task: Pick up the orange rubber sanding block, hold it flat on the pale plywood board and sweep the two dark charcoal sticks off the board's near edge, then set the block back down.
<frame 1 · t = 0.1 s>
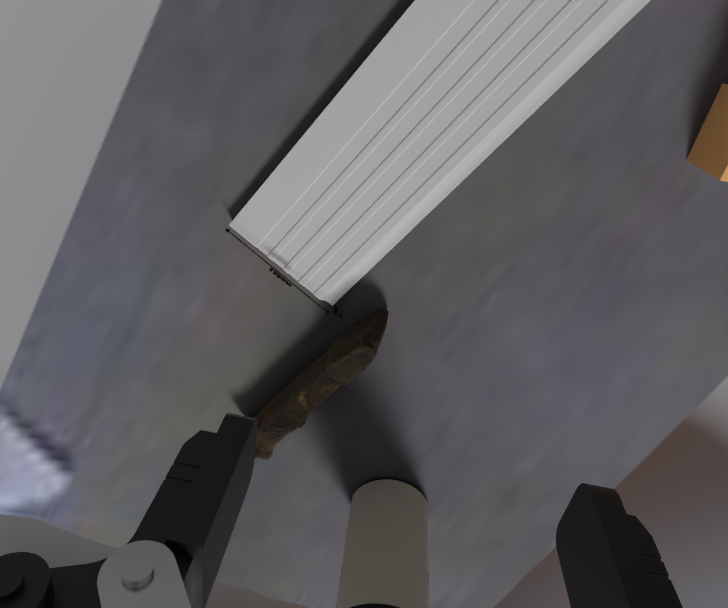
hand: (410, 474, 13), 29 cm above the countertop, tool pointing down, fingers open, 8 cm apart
brown pointed piece: (313, 367, 49), on the countertop
baseboard: (426, 125, 38), on the countertop
travel mug: (389, 502, 56), on the countertop
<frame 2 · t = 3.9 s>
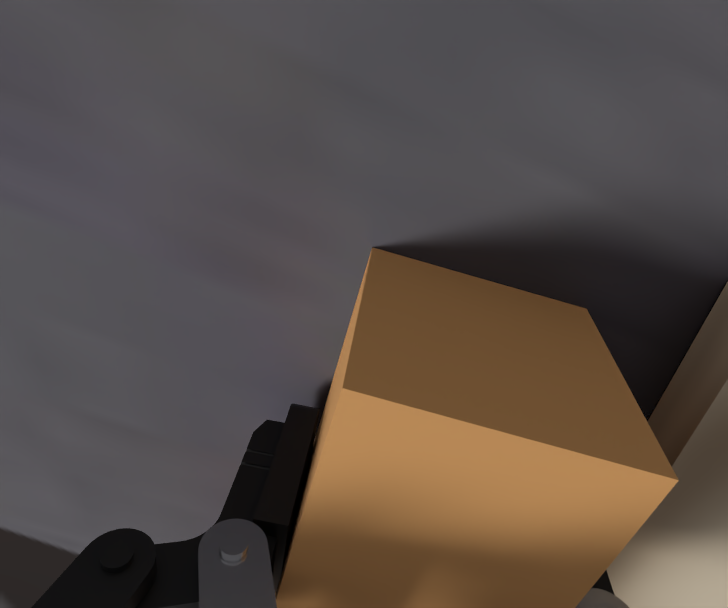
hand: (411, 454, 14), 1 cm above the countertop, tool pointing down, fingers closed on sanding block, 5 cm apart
sanding block: (412, 437, 14), on the countertop, touching gripper
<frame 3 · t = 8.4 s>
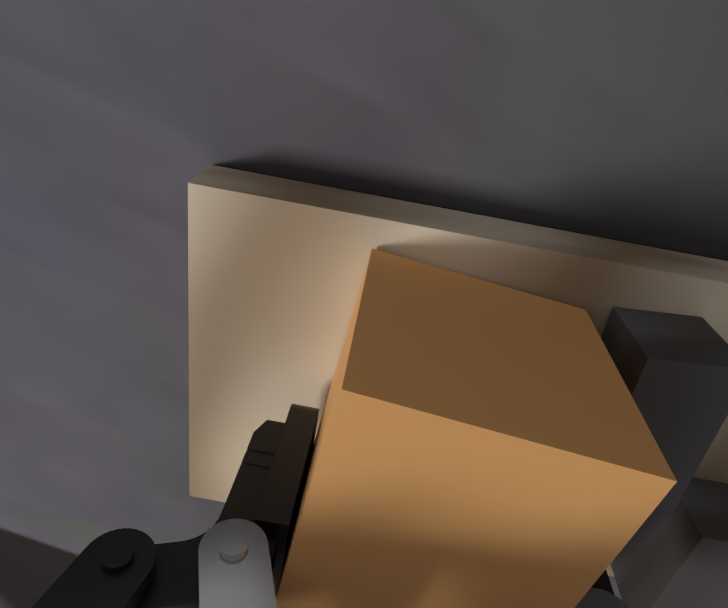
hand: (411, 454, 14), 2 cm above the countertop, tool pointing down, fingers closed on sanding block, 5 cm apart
sanding block: (412, 438, 14), point 2 cm above the countertop, touching gripper
charcoal stick A: (627, 382, 13), point 2 cm above the countertop, touching gripper, plywood board
charcoal stick B: (672, 528, 15), point 1 cm above the countertop, touching plywood board
plywood board: (500, 391, 15), on the countertop
when the fingers open (2 cm above the countertop, at t = 16.6 s): sanding block drops 1 cm, on the countertop.
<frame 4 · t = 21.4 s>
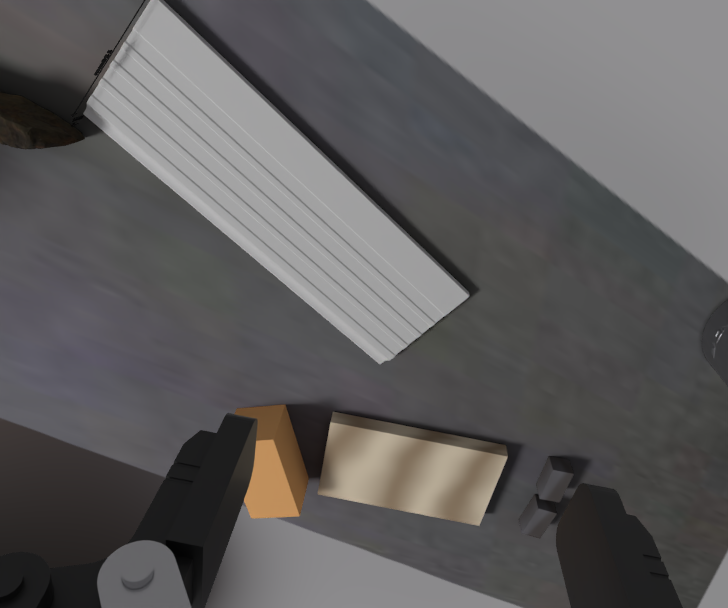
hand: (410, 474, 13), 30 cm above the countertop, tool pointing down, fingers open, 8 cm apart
sanding block: (274, 443, 55), on the countertop
charcoal stick A: (544, 476, 52), point 1 cm above the countertop, tilted 90°
baseboard: (282, 209, 43), on the countertop
charcoal stick B: (527, 513, 55), point 1 cm above the countertop, tilted 90°
plywood board: (408, 464, 54), on the countertop
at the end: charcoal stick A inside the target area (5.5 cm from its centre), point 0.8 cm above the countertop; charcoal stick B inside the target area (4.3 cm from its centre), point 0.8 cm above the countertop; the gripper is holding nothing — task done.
